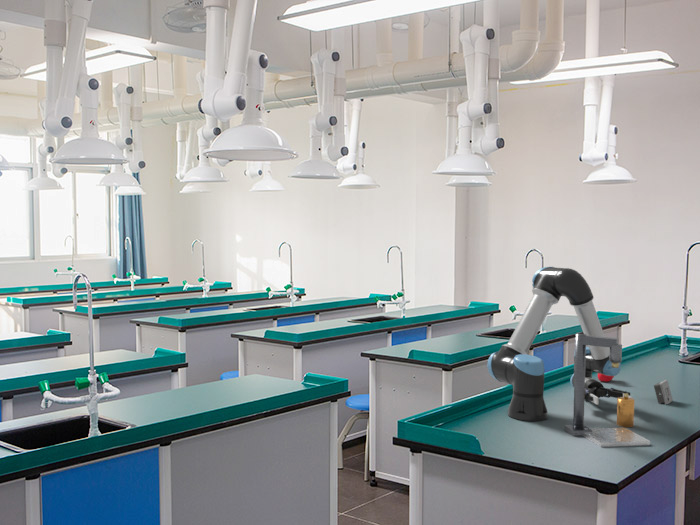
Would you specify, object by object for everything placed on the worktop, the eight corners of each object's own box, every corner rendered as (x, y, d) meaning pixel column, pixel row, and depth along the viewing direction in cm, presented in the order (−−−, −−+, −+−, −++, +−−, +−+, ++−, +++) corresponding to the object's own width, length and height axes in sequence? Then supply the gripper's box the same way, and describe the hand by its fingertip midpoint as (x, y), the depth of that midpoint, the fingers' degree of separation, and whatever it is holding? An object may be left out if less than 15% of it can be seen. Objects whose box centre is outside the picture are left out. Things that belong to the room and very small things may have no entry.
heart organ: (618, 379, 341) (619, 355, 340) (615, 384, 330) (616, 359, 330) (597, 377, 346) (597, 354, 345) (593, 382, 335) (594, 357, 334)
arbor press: (591, 447, 233) (594, 341, 231) (564, 430, 252) (567, 332, 251) (649, 445, 236) (653, 340, 235) (619, 428, 256) (622, 332, 254)
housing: (622, 427, 257) (623, 395, 257) (613, 423, 263) (614, 391, 263) (636, 427, 258) (637, 395, 258) (628, 422, 264) (629, 391, 264)
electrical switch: (667, 405, 292) (665, 383, 292) (654, 404, 295) (652, 382, 295) (673, 401, 299) (671, 379, 299) (660, 400, 302) (659, 379, 302)
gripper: (620, 396, 293) (645, 409, 271) (562, 397, 291) (583, 410, 270) (620, 379, 292) (645, 390, 271) (563, 379, 290) (583, 391, 269)
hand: (614, 400), depth 270 cm, fingers open, 13 cm apart
